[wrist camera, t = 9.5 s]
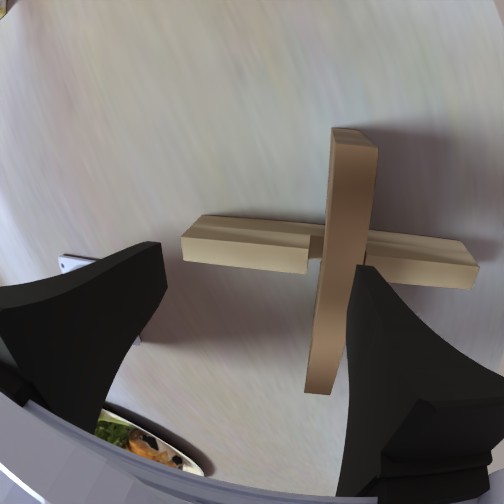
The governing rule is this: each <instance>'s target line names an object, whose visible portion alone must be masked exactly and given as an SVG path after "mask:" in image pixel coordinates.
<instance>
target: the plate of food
mask: <svg viewBox="0 0 504 504" xmlns="http://www.w3.org/2000/svg"><path fill="white" fill-rule="evenodd" d="M135 427H138V428H140V429H142V430H144V431H142V430H140V429H137V428H135ZM145 431H146V432H145ZM94 436H96V437H98V438H100V439H102V440H104V441H107V442H109V443H111V444H113V445H115V446H118V447H120V448H122V449H125V450H127V451H130V452H132V453H135V454H137V455H140V456H142V457H145V458H148V459H150V460H153V461H156V462H159V463H161V464H164V465H167V466H170V467H173V468H177V469H180V470H183V471H186V472H190V473H193V474H197V475H200V476H204V473H203V472H202V470H201V469H200V467H199V466H198V465H197V464H195V463H194V462H193V461H192V460H191V459H189V458H188V457H187V456H185V455H184V454H183V453H181V452H179V451H178V450H177V449H175V448H174V447H172V446H170V445H169V444H167V443H166V442H164V441H162V440H161V439H159V438H157V437H156V436H155V435H153V434H152V433H150V432H149V431H147V430H145V429H143V428H141V427H139V426H137V425H135V424H133V423H131V422H129V421H127V420H125V419H123V418H122V417H120V416H117V415H116V414H113V413H111V412H109V411H107V410H104V409H102V410H101V413H100V416H99V420H98V423H97V426H96V430H95V433H94Z"/></svg>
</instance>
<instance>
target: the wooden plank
mask: <svg viewBox="0 0 504 504" xmlns="http://www.w3.org/2000/svg"><path fill="white" fill-rule="evenodd" d="M378 150H379V148H378V147H377V146H375V145H374V144H373V143H372V142H371V141H370V140H369V139H368V138H366V137H365V136H364V135H363V134H362V133H361V132H360V131H358V130H350V129H340V128H331V143H330V161H329V177H328V190H327V203H326V225H325V235H324V245H323V254H322V260H321V263H320V271H319V280H318V287H317V295H316V302H315V310H314V316H313V325H312V334H311V343H310V351H309V360H308V367H307V375H306V382H305V390H304V393H312V394H322V395H330V394H331V391H332V388H333V384H334V381H335V378H336V374H337V371H338V367H339V364H340V360H341V356H342V353H343V349H344V345H345V341H346V314H347V307H348V303H349V299H350V294H351V289H352V285H353V280H354V275H355V270H356V265H357V264H359V265H363V260H364V255H365V249H366V243H367V237H368V231H369V225H370V218H371V211H372V204H373V196H374V188H375V180H376V171H377V161H378Z"/></svg>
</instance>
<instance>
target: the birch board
mask: <svg viewBox="0 0 504 504" xmlns="http://www.w3.org/2000/svg"><path fill="white" fill-rule="evenodd" d="M324 235H325V225H317V224H307V223H296V222H285V221H273V220H261V219H248V218H235V217H221V216H207V215H202V216H201V217H200V218H199V219H198V220H197V221H196V222H195V223H194V224H193V225H192V226H191V227H190V228H189V229H188V230H187V231H186V232H185V233H184V234H183V235H182V236H181V244H182V252H183V260H184V261H192V262H200V263H209V264H217V265H226V266H235V267H243V268H252V269H261V270H271V271H280V272H289V273H299V274H306V272H307V265H308V259H315V260H322V254H323V245H324ZM363 265H368V266H374V267H375V268H376V269H377V270H378V272H379V273H380V274H381V275H382V277H383V278H384V279H385V280H386V282H389V283H400V284H411V285H422V286H434V287H445V288H457V289H470V290H472V287H473V285H474V282H475V279H476V277H477V274H478V271H479V268H480V267H479V265H478V264H477V262H476V261H475V260H474V258H473V257H472V255H471V254H470V253H469V251H468V250H467V249H466V247H465V246H464V245H463V243H462V242H461V241H456V240H449V239H441V238H434V237H426V236H418V235H410V234H401V233H393V232H384V231H375V230H369V231H368V237H367V243H366V249H365V255H364V260H363Z"/></svg>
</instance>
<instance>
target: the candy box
mask: <svg viewBox="0 0 504 504" xmlns="http://www.w3.org/2000/svg"><path fill="white" fill-rule="evenodd" d="M6 1H7V0H0V19H1V18H2V17H3V16H4V15H5V14H6Z"/></svg>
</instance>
